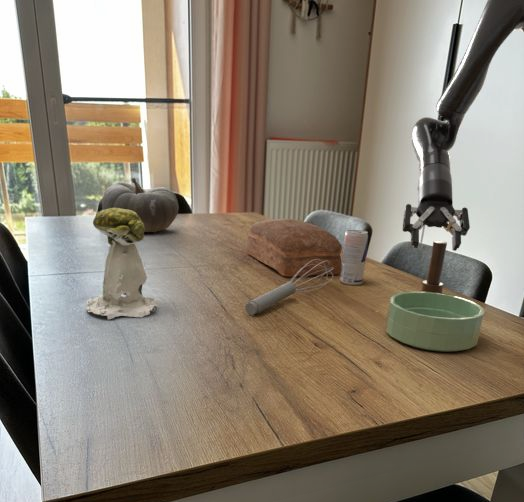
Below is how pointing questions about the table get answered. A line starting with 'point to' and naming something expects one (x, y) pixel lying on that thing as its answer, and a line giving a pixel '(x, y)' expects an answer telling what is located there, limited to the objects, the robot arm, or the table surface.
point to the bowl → (434, 321)
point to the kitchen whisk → (279, 293)
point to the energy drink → (354, 257)
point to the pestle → (435, 268)
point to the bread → (294, 247)
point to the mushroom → (121, 266)
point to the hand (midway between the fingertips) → (435, 247)
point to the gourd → (143, 204)
